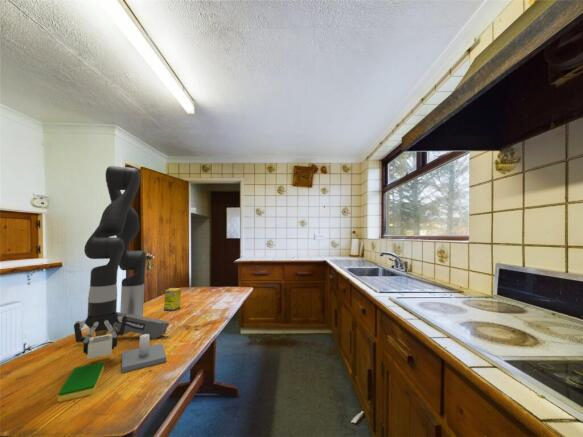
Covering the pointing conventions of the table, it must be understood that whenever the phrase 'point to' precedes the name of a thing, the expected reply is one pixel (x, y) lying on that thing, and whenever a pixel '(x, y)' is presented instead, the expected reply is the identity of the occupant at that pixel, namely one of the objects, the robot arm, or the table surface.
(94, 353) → the ring
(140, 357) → the post stand
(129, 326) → the gun
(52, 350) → the table surface
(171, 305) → the supplement box
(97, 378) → the dish sponge
